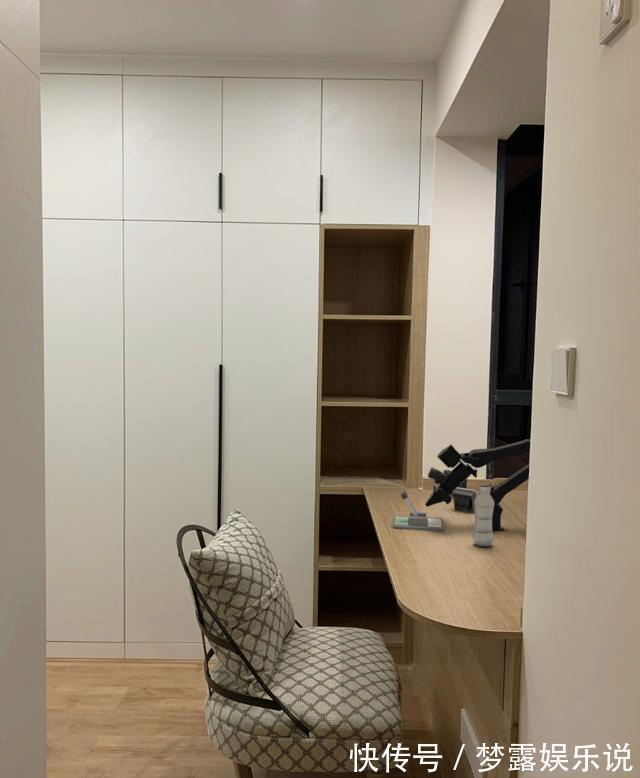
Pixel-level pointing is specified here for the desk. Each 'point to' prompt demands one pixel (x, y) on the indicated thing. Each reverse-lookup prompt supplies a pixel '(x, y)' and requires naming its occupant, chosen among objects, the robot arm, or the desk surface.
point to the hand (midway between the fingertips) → (425, 505)
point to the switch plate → (418, 522)
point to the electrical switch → (464, 499)
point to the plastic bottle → (483, 517)
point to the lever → (409, 503)
